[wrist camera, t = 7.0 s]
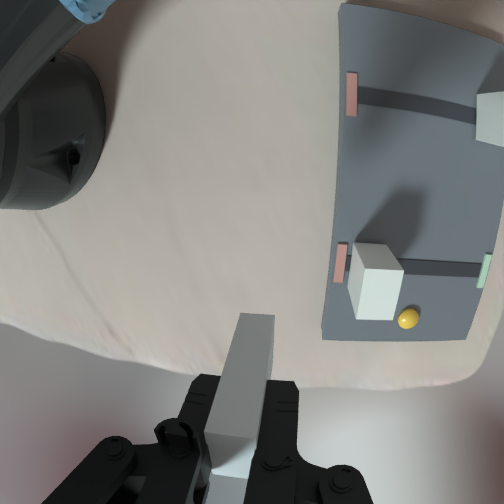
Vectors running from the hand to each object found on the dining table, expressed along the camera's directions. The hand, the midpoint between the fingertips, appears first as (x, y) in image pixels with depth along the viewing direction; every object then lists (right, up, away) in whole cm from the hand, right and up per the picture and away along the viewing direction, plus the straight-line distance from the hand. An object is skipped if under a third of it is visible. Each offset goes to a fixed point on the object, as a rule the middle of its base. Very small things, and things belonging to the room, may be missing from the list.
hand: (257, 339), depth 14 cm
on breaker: (+17, +14, +3) cm, 22 cm away
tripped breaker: (+8, +3, +8) cm, 12 cm away
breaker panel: (+13, +9, +8) cm, 18 cm away
